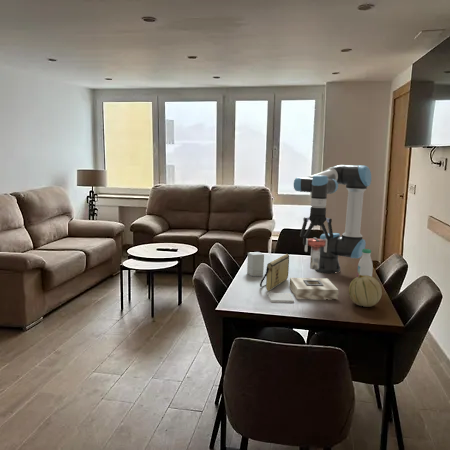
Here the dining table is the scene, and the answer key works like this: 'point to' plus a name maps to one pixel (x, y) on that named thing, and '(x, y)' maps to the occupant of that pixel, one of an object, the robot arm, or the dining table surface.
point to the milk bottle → (365, 263)
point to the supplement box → (255, 264)
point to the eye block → (313, 288)
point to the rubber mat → (280, 297)
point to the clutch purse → (276, 272)
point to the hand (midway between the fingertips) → (315, 251)
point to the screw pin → (315, 251)
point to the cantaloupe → (365, 291)
